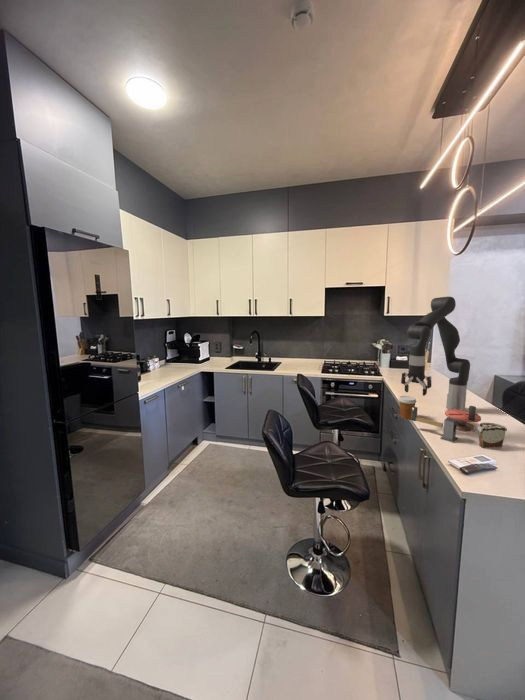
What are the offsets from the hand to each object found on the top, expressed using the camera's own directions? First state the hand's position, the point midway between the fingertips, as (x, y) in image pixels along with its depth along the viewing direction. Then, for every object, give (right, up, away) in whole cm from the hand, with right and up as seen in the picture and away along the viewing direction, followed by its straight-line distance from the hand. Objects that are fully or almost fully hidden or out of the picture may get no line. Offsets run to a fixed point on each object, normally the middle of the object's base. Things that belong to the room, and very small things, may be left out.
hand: (415, 393), depth 153 cm
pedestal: (+27, -19, +4) cm, 33 cm away
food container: (+26, -22, -16) cm, 37 cm away
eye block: (+12, -21, -10) cm, 26 cm away
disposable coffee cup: (+5, -17, +19) cm, 26 cm away
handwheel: (+27, -17, +3) cm, 32 cm away
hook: (+4, -15, -2) cm, 16 cm away
